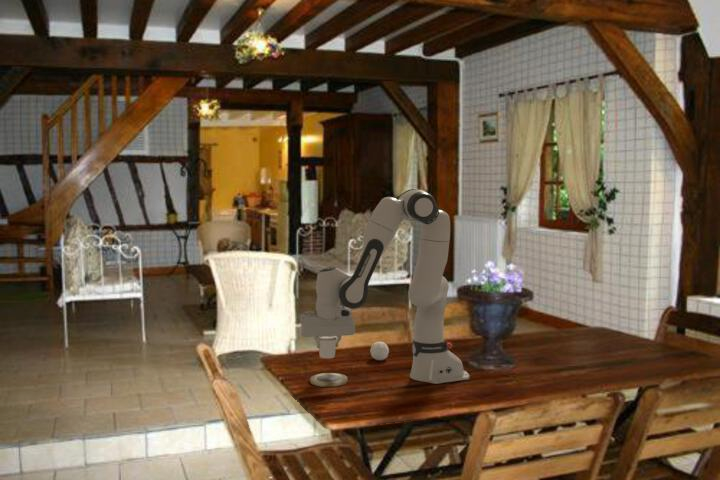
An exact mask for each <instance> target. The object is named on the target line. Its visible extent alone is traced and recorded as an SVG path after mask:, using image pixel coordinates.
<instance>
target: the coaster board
mask: <svg viewBox="0 0 720 480" xmlns="http://www.w3.org/2000/svg"><path fill="white" fill-rule="evenodd" d="M309 383H310V384H311V385H313V386H316V387H320V388H321V387H323V388H335V387H341V386H343V385H346V384H347V383H348V377H347V376H346V375H345V374H343V373H335V372H324V373H317V374H314V375H311V377H309Z"/></svg>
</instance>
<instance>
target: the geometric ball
mask: <svg viewBox="0 0 720 480" xmlns="http://www.w3.org/2000/svg"><path fill="white" fill-rule="evenodd" d="M369 351H370V354H371V357H372V358H373V359H375V361H384V360H385V359H386V358H388V355H389V352H390V349H389V346H388V345H387V344H386V343H385V342H383V341H376V342H375V343H372V344H371V346H370V350H369Z"/></svg>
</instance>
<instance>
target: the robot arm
mask: <svg viewBox="0 0 720 480" xmlns="http://www.w3.org/2000/svg"><path fill="white" fill-rule="evenodd" d="M406 219H411V220H415V221H417V222H418V223H420V237H419V245H418V253H417V258H416V259H417V260H416V263H415V267H414V271H413V274H412V278H411V284H410V285H409V289H408V291H407V292H408V293H407V297H408V298H409V301H410V303H412V305H414V306H415V307H416V313H415V317H414V320H413V323H414V324H413V326H414V328H413V330H414V331H413V334H414V335H413V339H412V355H413V356H412V357H413V358H412V364H411V365H412V366H411V370H410V373H409V378H410V379H412V380H413V381H418V382H425V383H430V384H434V385H435V384H443V383H445V384H446V383H451V382H458V381H467V380H469V379H470V374H469V373H468V371H466V370H464V366H463V362H462V360H461V359H460V358H459V357H458V356H457V355H456V354H454V353H453V352H451V351H450V350H449V349H452V348H453V344H452V343H451V342H448V341H446V340H445V339H444V322H445V321H444V320H445V312H446V306H447V299H448V291H449V286H450V285H449V281H448V280H447V278H446V277H445V276H443V275H444V272H445V268H446V265H447V262H448V257H449V250H450V248H449V247H450V239H451V219H450V215H449V214H448V213H447V212H446V211H445V210H442V209H439V207H438V205H437V202H436V199H435V198H434V197H433V195H432V194H430V193H428V192H426V191H425V190H422V189H415V188H413V189H412V188H410V189H408V190H407V189H406V191H404V192H402V193H401V194H400V195H398V196H397V197H392V196H386V197H383V198H382V199H381V200H380V201H379V202H378V204H377V205H376V207H375V208H374V210H373V211H372V213H371V215H370V218H369V219H368V221H367V224H366V225H365V229H364V233H363V237H362V244H363V245H362V253H361V256H360V259H359V260H358V263H357V265H356V267H355V270H354V271H353V274H350V273H347V272H345V271H343V270H341V269H340V268H339V267H337V266H328V267H325V268H322V269H320V270H319V271H318V272H317V275H316V283H315V284H316V285H315V287H316V288H315V290H316V296H317V297H316V301H315V310H311V311H310V310H309V311H303V312H302V313H300V315H299V321H300V332H299V333H300V335H301V337H303V338H306V337H307V338H308V337H309V338H311V337H312V338H313V339H314V341H315V342H316V349H319V348H320V344H319V341H318V338H319V337H323V336H332V337H336V338H337V340H336V348H339V343H340V342H341V340H342V336H353V335H354V334H355V333H356V326H355V319H354V318H353V317H352V315H353V311H352V310H354V309H355V310H357V309H359V308H361V307H362V306H363V305H364V304H365V303H366V302H367V300H368V293H369V290H368V288H369V282H370V281H371V279H372V277H373V274H374V272H375V270H376V268H377V265H378V263H379V261H380V259H381V258H382V256H383V254H384V253H385V252H386V250H387V249H388V247H389V246H390V244H391V243H392V241H393V240H394V237H395V236H396V234H397V232H398V230H399V227H400V225H401V224H402V222H403V221H405V220H406ZM341 304H342V305H343V306H342V305H341Z"/></svg>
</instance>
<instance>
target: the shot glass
mask: <svg viewBox="0 0 720 480" xmlns="http://www.w3.org/2000/svg"><path fill="white" fill-rule="evenodd" d="M336 340H337V336H318V339H317V341H318V342H319V344H320V348H318V352H319V358H321V359H333V358H335V355H336V348H337V347H336Z"/></svg>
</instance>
